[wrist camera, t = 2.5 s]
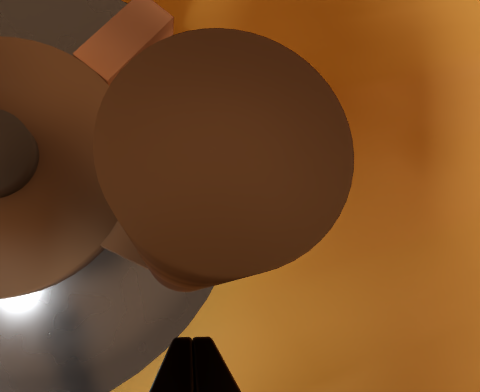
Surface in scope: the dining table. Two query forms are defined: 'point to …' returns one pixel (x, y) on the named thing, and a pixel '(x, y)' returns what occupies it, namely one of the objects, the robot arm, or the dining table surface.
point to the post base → (84, 269)
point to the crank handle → (165, 154)
